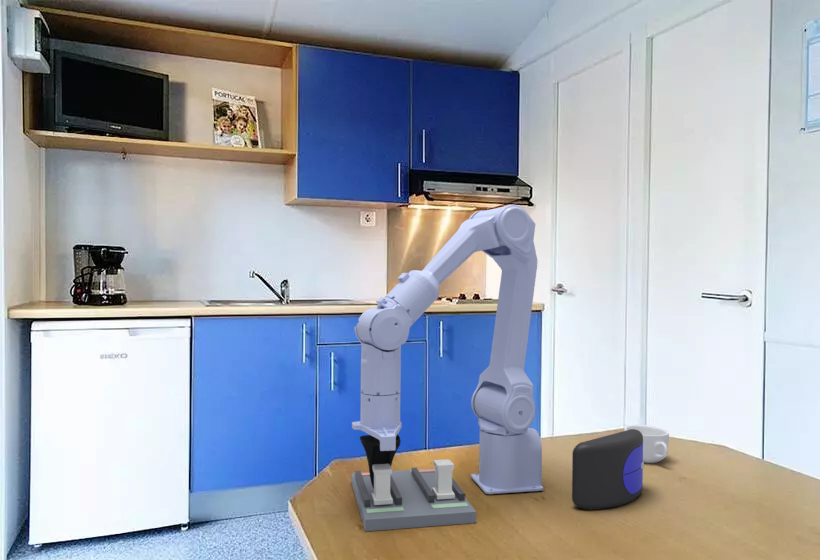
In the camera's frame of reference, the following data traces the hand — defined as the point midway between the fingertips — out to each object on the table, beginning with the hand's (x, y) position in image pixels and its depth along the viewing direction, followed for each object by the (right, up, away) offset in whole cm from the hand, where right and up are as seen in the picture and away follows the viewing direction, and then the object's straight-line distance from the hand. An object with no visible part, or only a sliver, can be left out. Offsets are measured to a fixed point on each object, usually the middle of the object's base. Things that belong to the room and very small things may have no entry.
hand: (379, 486), depth 83 cm
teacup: (+48, -4, +22) cm, 53 cm away
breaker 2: (+9, -1, 0) cm, 9 cm away
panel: (+4, -3, +2) cm, 6 cm away
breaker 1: (0, -1, -2) cm, 2 cm away
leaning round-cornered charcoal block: (+34, -4, +5) cm, 35 cm away
